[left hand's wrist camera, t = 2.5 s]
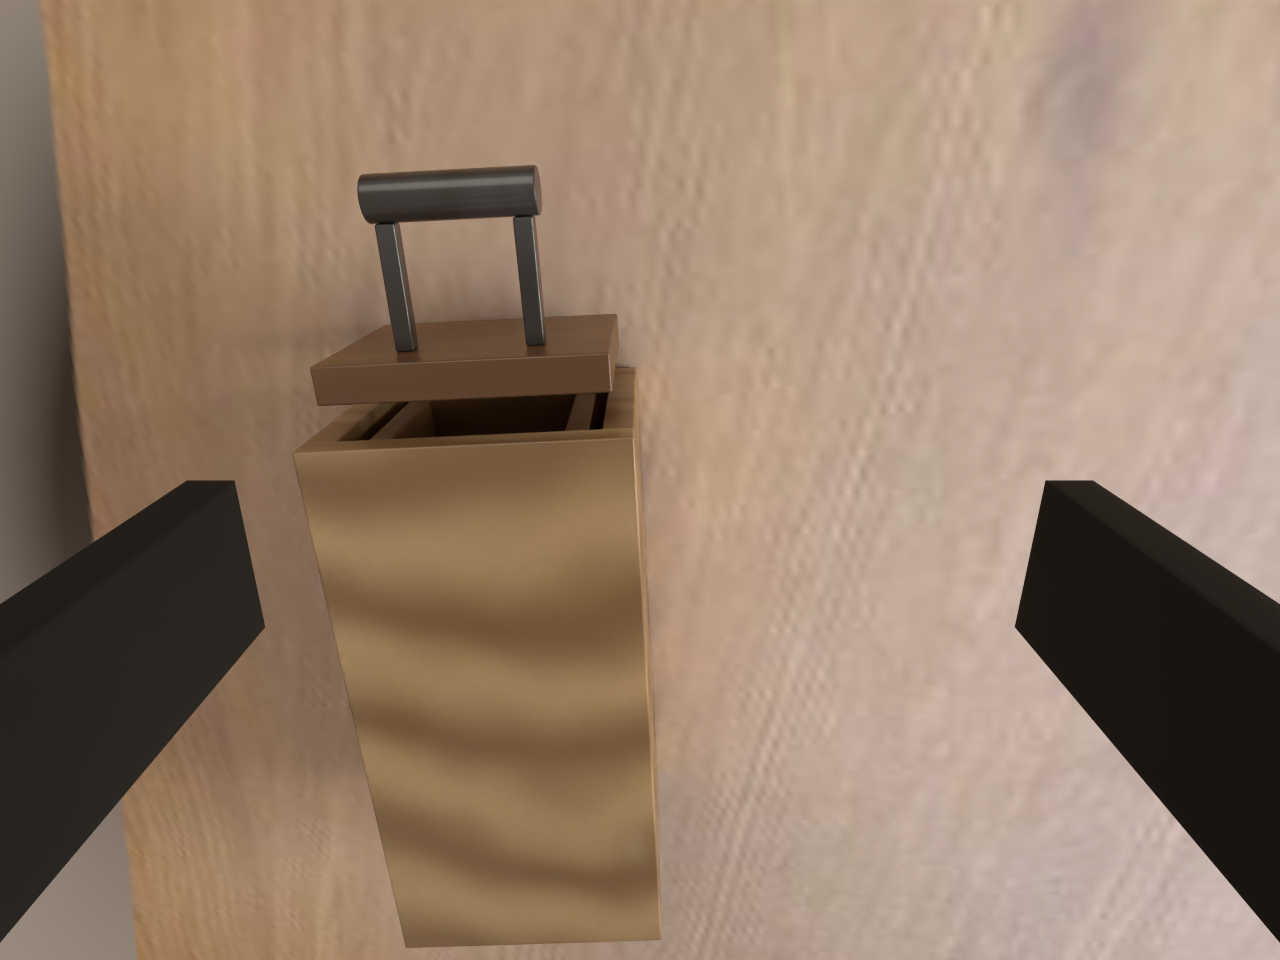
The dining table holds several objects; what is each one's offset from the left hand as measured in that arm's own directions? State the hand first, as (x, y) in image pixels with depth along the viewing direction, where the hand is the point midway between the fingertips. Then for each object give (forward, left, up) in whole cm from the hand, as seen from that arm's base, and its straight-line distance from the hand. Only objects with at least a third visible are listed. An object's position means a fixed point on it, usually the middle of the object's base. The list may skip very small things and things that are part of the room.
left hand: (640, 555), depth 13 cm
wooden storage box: (+13, -1, -19) cm, 23 cm away
